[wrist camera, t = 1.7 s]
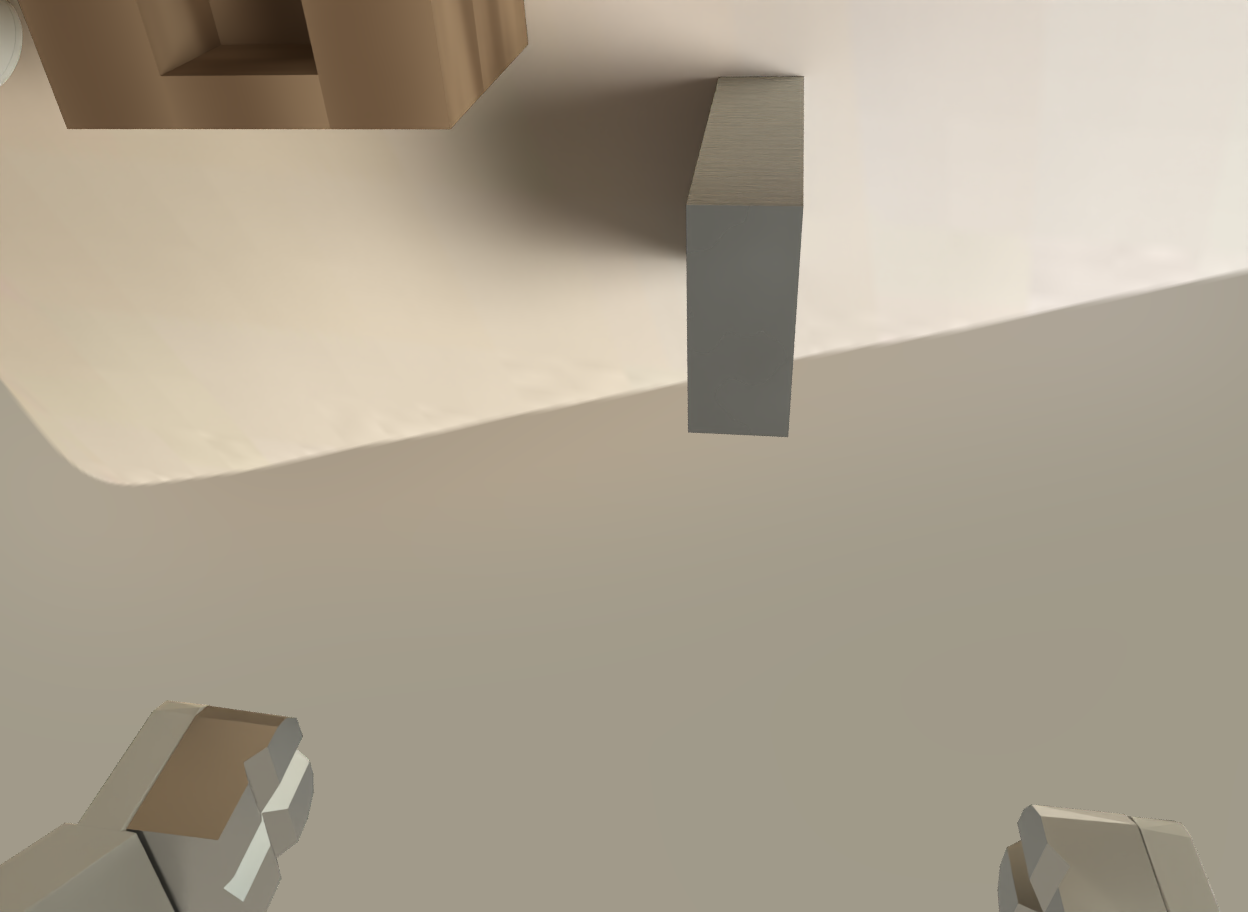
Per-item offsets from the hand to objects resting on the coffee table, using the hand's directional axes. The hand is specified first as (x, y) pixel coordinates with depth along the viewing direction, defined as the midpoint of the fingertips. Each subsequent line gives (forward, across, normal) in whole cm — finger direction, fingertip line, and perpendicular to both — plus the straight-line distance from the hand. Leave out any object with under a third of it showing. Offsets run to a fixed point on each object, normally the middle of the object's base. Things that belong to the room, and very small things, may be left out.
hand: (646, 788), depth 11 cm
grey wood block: (+24, -1, +1) cm, 24 cm away
